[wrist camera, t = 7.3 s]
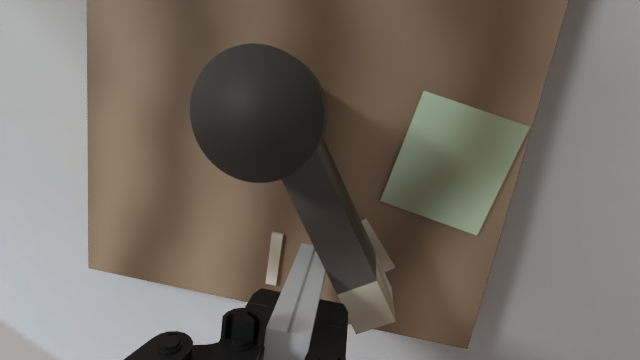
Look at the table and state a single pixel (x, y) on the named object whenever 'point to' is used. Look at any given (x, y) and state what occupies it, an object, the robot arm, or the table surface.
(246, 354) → the robot arm
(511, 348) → the table surface
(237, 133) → the peg
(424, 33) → the board
